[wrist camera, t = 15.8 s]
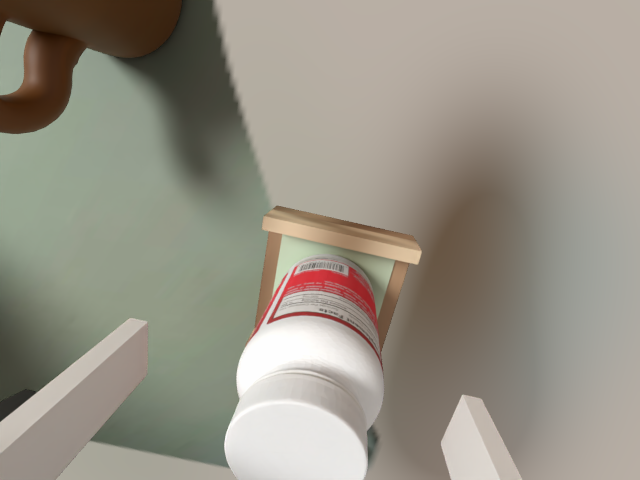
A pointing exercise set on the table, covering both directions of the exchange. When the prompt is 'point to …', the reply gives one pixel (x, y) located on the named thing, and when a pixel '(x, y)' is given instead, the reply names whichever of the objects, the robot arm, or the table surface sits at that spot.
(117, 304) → the table surface
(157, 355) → the table surface
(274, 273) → the notch board
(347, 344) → the pill bottle
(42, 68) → the mug
